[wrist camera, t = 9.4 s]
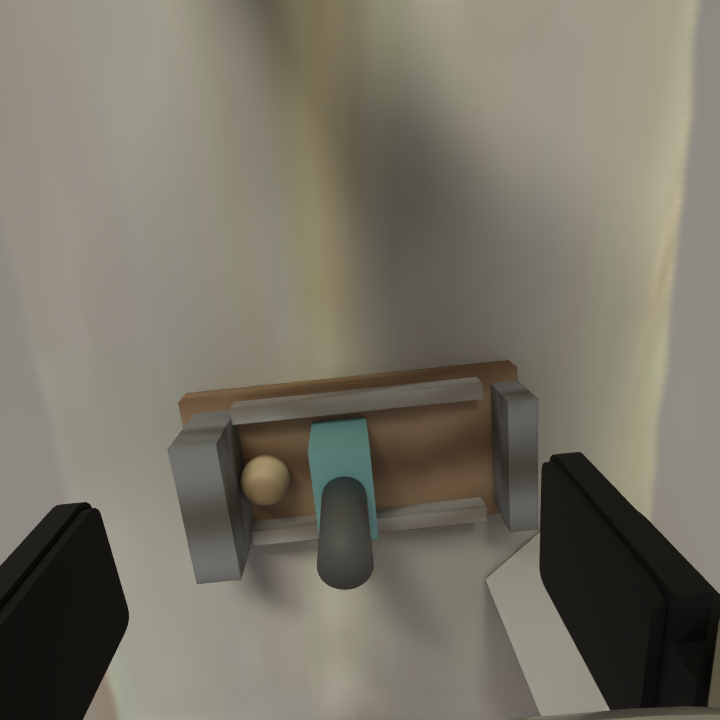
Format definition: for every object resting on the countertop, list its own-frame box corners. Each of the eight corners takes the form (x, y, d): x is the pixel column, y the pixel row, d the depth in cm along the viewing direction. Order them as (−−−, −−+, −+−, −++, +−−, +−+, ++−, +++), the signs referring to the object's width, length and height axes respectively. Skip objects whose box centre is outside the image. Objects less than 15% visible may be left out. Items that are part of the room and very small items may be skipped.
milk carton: (544, 524, 43) (693, 747, 25) (596, 572, 45) (773, 814, 27) (483, 577, 45) (583, 826, 26) (536, 622, 46) (666, 887, 28)
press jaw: (311, 422, 38) (299, 511, 26) (365, 416, 38) (376, 503, 26) (322, 505, 39) (315, 623, 28) (374, 500, 39) (387, 615, 28)
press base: (186, 393, 39) (148, 436, 31) (508, 360, 39) (549, 394, 32) (213, 529, 42) (184, 598, 35) (510, 497, 43) (548, 558, 35)
